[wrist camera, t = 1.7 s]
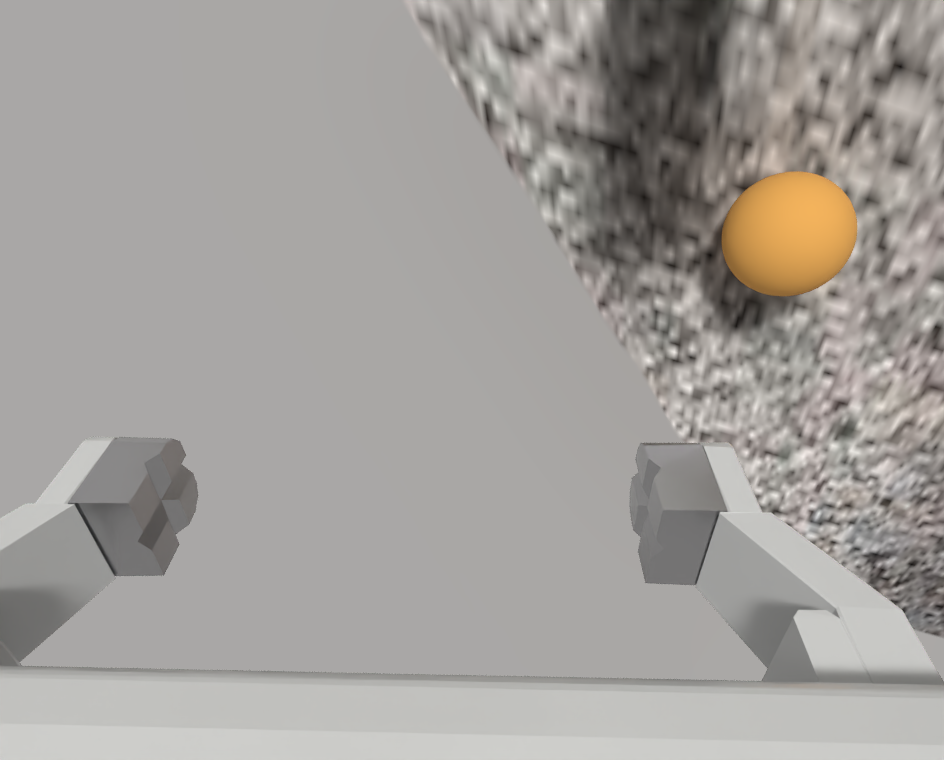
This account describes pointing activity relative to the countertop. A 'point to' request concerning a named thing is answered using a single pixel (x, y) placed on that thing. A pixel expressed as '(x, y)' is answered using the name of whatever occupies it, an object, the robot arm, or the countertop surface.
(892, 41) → the countertop surface
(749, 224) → the ball
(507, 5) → the countertop surface
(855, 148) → the countertop surface
